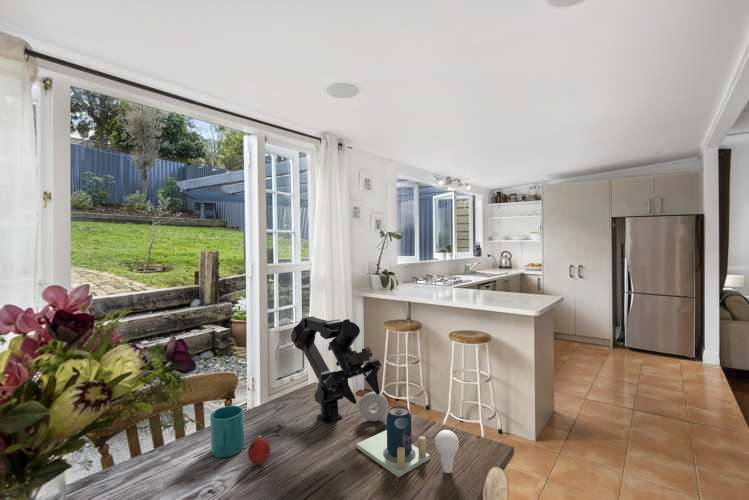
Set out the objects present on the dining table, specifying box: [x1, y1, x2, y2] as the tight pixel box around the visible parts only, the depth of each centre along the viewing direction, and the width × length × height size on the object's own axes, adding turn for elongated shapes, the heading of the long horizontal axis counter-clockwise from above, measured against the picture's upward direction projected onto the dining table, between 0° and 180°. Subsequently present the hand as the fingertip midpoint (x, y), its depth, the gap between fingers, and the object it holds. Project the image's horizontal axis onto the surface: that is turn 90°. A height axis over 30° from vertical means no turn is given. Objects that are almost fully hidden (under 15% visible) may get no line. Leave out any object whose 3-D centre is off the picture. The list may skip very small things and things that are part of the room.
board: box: [356, 429, 431, 478], centre depth 106 cm, size 18×12×6 cm, turn 39°
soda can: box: [386, 405, 413, 458], centre depth 104 cm, size 7×7×12 cm
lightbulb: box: [434, 429, 460, 474], centre depth 97 cm, size 6×6×11 cm
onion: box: [247, 435, 271, 466], centre depth 102 cm, size 6×6×8 cm
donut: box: [358, 391, 389, 422], centre depth 125 cm, size 10×3×10 cm, turn 93°
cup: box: [209, 405, 245, 459], centre depth 108 cm, size 9×12×11 cm
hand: (367, 398), depth 111 cm, fingers open, 9 cm apart
